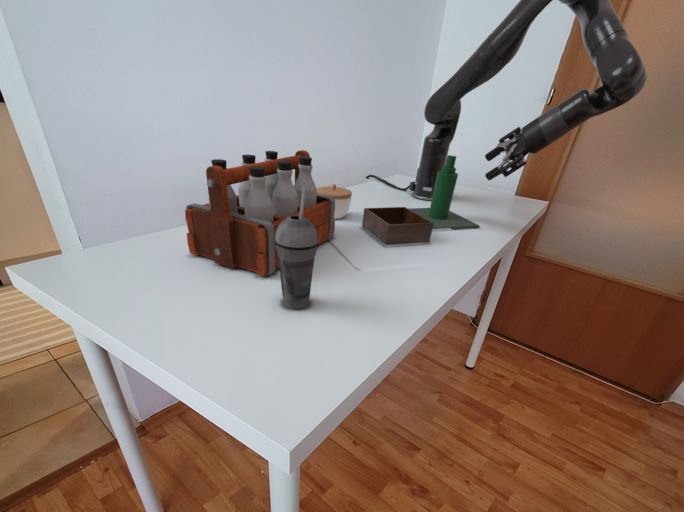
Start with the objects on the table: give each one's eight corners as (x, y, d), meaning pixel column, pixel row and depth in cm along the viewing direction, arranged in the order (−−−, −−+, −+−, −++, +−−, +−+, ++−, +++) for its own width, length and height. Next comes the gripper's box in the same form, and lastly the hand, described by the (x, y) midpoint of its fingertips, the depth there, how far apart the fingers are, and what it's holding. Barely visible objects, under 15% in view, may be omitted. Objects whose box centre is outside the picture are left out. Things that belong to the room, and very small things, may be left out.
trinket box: (332, 210, 117) (334, 179, 111) (356, 219, 111) (360, 186, 105) (307, 215, 111) (308, 182, 105) (331, 225, 105) (333, 190, 99)
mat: (397, 211, 122) (397, 208, 121) (442, 209, 127) (443, 207, 127) (429, 230, 107) (430, 228, 106) (478, 228, 113) (479, 225, 112)
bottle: (424, 214, 118) (437, 154, 108) (440, 213, 120) (454, 154, 110) (435, 220, 113) (449, 157, 103) (450, 219, 115) (466, 158, 105)
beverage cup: (276, 293, 69) (273, 180, 57) (315, 294, 70) (319, 182, 58) (275, 312, 63) (271, 191, 51) (316, 313, 64) (322, 193, 52)
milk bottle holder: (338, 236, 98) (345, 155, 86) (259, 283, 72) (253, 177, 60) (274, 220, 105) (272, 144, 93) (181, 258, 79) (162, 159, 68)
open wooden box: (361, 227, 105) (364, 208, 102) (401, 225, 109) (405, 206, 106) (385, 246, 94) (388, 225, 90) (429, 243, 98) (433, 223, 94)
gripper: (537, 102, 94) (479, 143, 106) (541, 135, 88) (479, 175, 100) (550, 124, 98) (492, 161, 110) (555, 157, 92) (493, 192, 104)
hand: (486, 167), depth 105 cm, fingers open, 8 cm apart
